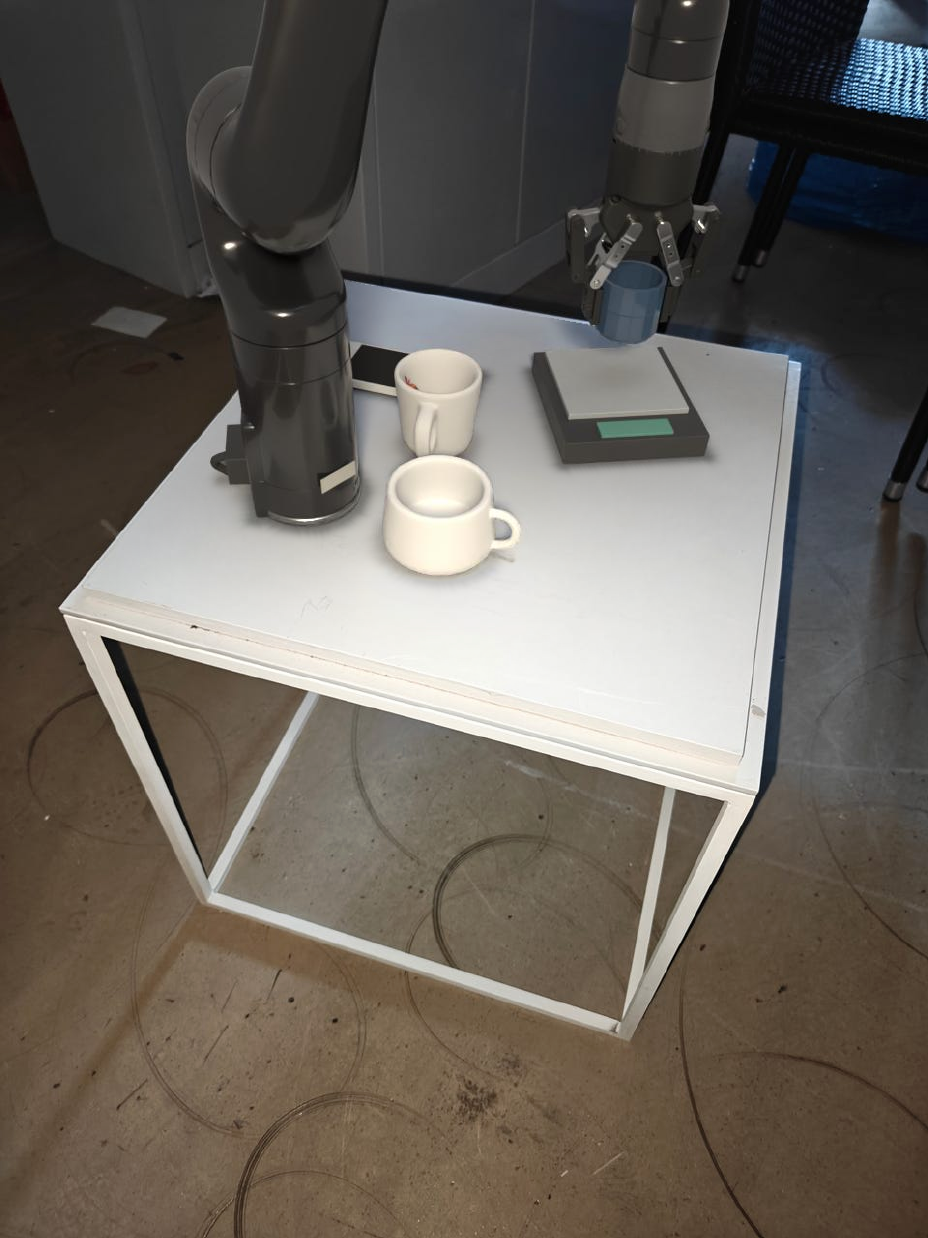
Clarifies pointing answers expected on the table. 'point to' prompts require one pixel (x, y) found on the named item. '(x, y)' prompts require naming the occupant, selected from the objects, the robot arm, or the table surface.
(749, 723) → the table surface
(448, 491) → the mug
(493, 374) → the table surface
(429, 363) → the cup
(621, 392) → the scale
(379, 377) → the smartphone
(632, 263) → the dark blue tumbler
